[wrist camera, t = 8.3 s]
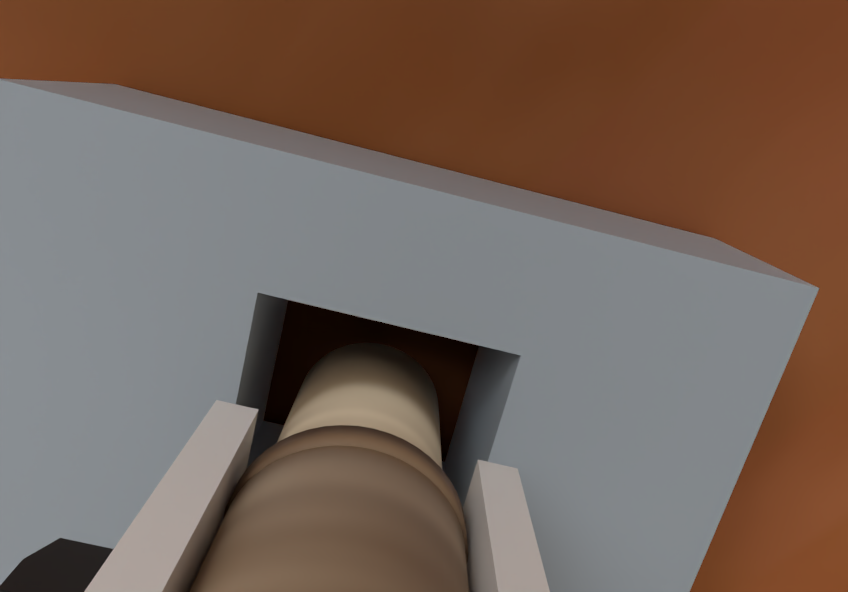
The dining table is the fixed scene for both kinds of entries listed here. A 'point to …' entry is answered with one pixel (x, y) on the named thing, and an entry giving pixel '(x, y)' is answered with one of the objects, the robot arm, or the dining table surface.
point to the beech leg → (347, 490)
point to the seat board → (372, 299)
